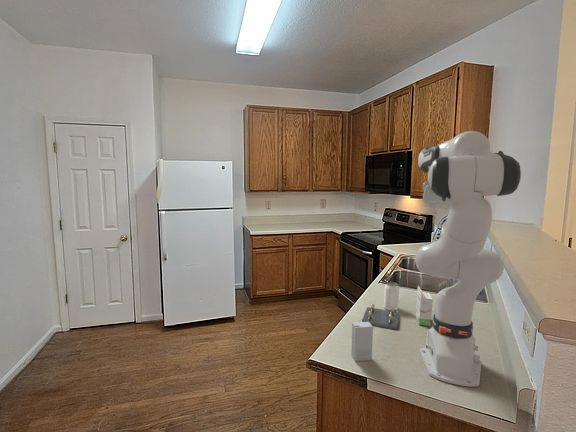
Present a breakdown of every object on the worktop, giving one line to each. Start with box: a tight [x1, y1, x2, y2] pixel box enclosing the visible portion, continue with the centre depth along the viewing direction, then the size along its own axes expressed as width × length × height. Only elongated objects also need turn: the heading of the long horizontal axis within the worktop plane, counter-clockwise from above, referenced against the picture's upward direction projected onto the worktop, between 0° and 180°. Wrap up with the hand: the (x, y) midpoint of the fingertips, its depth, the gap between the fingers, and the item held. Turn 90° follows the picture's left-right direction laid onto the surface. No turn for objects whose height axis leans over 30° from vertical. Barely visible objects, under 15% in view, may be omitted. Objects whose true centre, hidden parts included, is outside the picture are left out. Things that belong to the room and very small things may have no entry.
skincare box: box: [351, 321, 374, 362], centre depth 109 cm, size 6×4×12 cm
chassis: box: [361, 303, 400, 331], centre depth 140 cm, size 15×14×4 cm
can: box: [383, 281, 400, 312], centre depth 152 cm, size 6×6×12 cm
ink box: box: [415, 285, 434, 327], centre depth 138 cm, size 9×5×15 cm, turn 168°
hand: (447, 214), depth 134 cm, fingers open, 8 cm apart
